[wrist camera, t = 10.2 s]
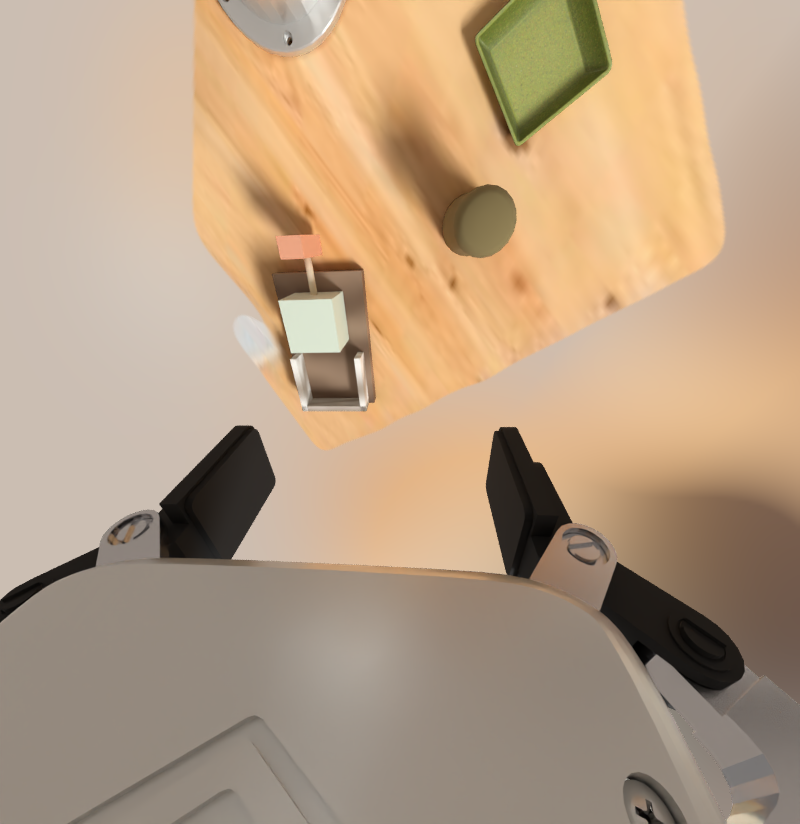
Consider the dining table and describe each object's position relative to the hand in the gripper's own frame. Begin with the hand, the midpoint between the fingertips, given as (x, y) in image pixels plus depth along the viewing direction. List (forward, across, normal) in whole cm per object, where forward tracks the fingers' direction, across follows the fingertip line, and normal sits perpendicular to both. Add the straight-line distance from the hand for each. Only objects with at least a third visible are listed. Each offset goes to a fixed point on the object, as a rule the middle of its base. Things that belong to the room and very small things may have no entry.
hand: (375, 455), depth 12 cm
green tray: (+31, -12, -20) cm, 39 cm away
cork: (+31, -7, -8) cm, 32 cm away
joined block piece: (+29, +11, -2) cm, 31 cm away
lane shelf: (+30, +11, +5) cm, 33 cm away
